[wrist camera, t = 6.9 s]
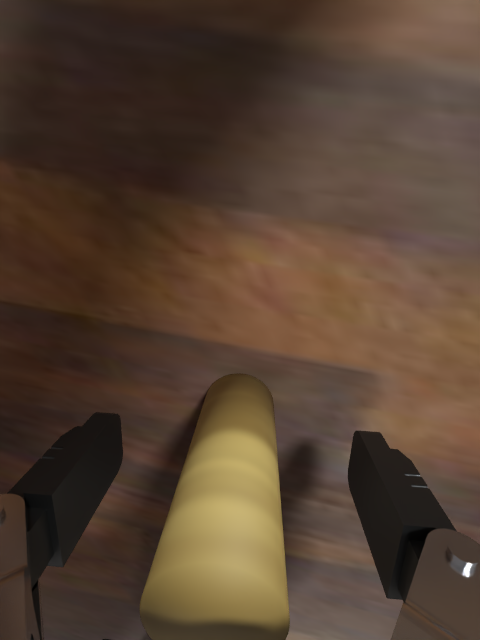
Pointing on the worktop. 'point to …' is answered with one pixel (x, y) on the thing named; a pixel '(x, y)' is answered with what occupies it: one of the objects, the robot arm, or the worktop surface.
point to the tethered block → (223, 528)
